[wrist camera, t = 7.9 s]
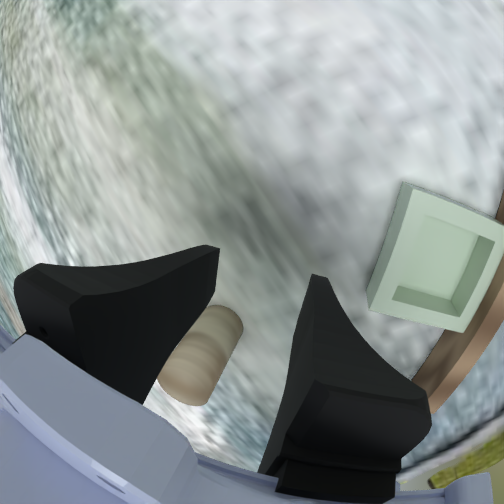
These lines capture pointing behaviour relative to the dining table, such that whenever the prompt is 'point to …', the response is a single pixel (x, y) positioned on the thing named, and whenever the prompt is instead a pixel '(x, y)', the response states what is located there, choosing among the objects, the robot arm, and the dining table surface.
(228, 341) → the dowel
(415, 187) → the holder
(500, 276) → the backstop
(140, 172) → the dining table surface
